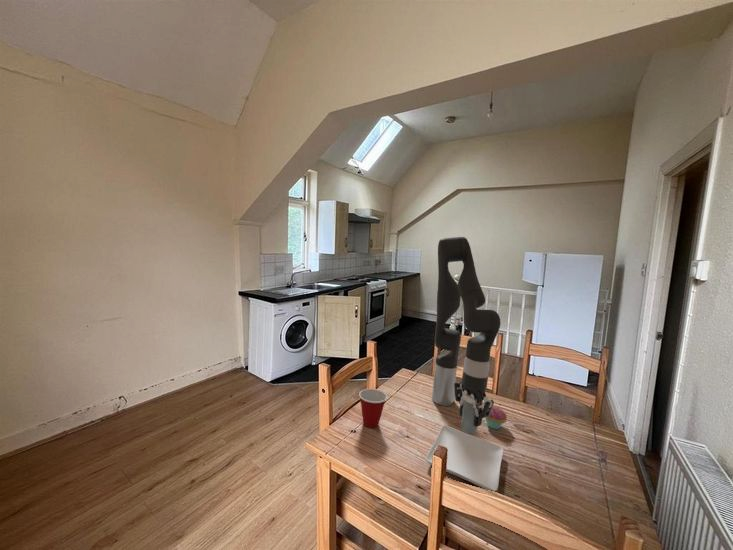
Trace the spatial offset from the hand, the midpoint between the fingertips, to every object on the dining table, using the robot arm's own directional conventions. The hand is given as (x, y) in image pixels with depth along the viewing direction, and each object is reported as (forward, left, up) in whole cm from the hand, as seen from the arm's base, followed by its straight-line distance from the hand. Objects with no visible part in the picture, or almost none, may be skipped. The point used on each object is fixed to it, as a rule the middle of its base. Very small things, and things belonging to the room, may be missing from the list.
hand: (469, 420), depth 95 cm
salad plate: (0, 0, -15) cm, 15 cm away
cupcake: (-26, -8, -14) cm, 31 cm away
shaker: (0, 0, -3) cm, 3 cm away
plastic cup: (+18, -30, -14) cm, 38 cm away
